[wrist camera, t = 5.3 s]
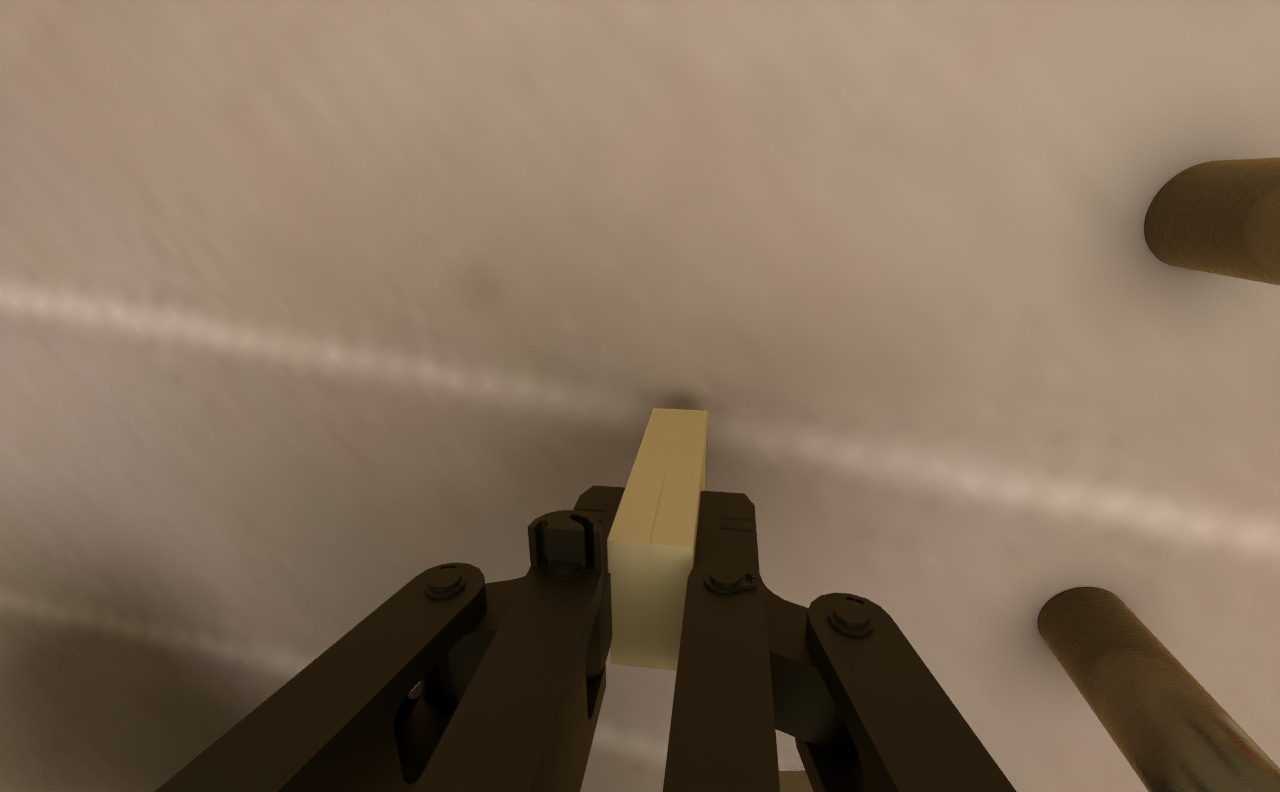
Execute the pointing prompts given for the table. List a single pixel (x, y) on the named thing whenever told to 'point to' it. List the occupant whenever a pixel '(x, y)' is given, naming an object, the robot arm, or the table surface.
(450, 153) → the table surface
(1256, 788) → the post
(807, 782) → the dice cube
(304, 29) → the table surface
